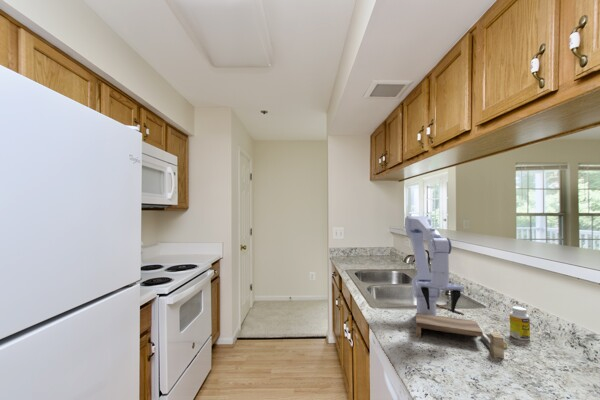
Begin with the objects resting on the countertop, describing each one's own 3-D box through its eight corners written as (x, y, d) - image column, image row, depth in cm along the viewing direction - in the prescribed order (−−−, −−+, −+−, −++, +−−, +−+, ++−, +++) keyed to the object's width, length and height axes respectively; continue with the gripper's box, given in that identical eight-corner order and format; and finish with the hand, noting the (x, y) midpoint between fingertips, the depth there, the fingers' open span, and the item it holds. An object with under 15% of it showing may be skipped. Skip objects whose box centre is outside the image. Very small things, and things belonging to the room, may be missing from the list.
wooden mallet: (478, 338, 96) (478, 320, 96) (489, 339, 95) (488, 321, 95) (494, 356, 83) (493, 336, 84) (506, 358, 82) (506, 338, 83)
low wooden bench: (416, 325, 106) (415, 312, 106) (476, 335, 98) (475, 320, 98) (416, 336, 97) (416, 322, 97) (482, 347, 89) (482, 332, 89)
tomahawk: (472, 315, 120) (472, 312, 120) (461, 316, 117) (461, 313, 117) (433, 302, 138) (433, 299, 138) (423, 302, 135) (423, 299, 135)
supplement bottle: (523, 342, 93) (522, 311, 93) (506, 335, 98) (505, 306, 99) (534, 339, 95) (533, 309, 95) (516, 332, 100) (515, 304, 101)
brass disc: (494, 349, 88) (494, 345, 88) (485, 342, 93) (485, 338, 93) (510, 350, 88) (510, 346, 88) (500, 342, 93) (500, 339, 93)
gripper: (417, 272, 96) (418, 311, 96) (465, 275, 91) (466, 317, 90) (417, 268, 103) (418, 304, 102) (461, 271, 97) (462, 310, 97)
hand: (440, 310), depth 97 cm, fingers open, 7 cm apart
